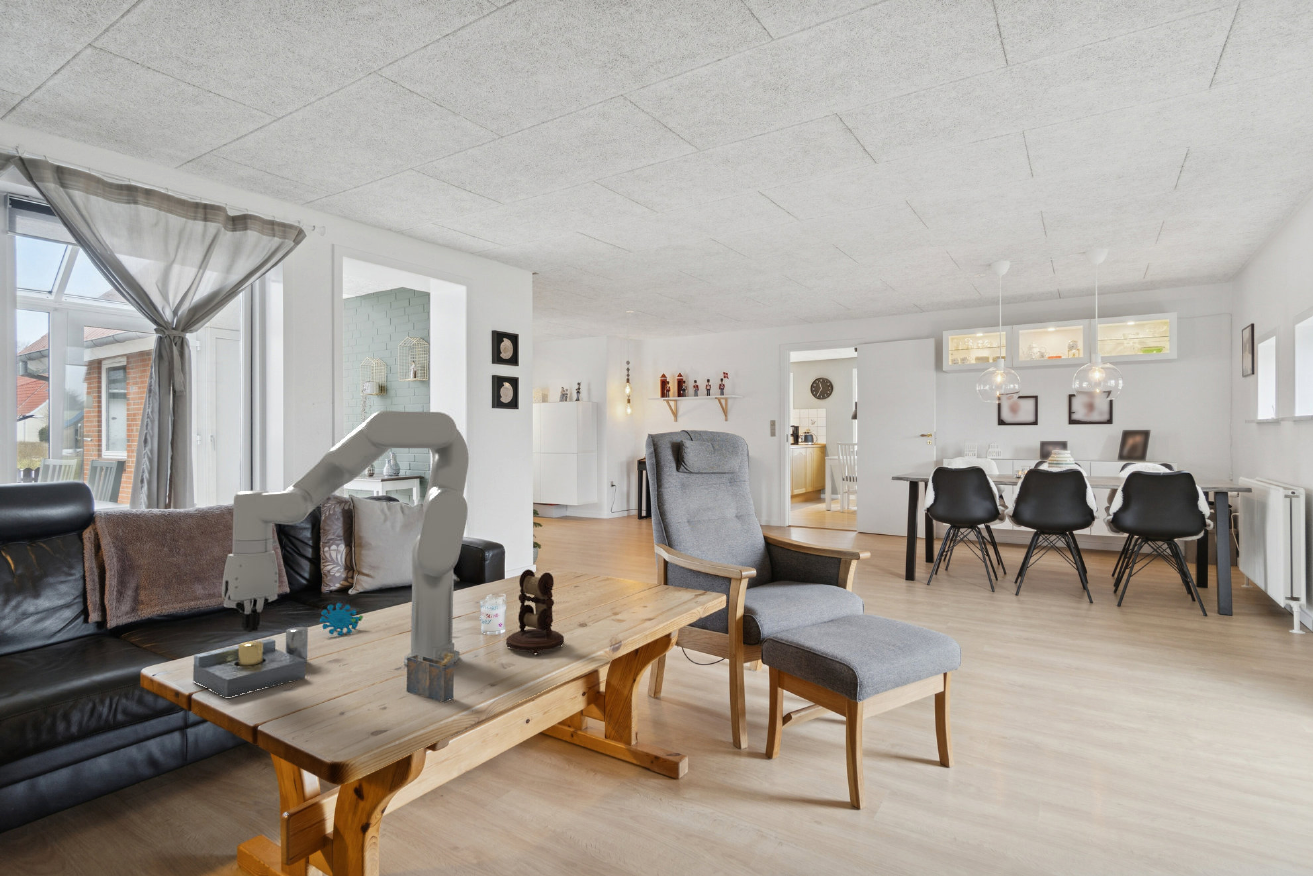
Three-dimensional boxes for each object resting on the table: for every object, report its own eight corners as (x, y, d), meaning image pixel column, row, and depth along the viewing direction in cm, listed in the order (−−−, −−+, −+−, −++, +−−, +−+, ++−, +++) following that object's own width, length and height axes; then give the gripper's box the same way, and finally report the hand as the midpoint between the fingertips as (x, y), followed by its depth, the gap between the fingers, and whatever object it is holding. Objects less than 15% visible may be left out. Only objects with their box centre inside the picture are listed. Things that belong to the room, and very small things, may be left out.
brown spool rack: (575, 646, 180) (576, 570, 180) (535, 660, 168) (537, 578, 168) (534, 636, 188) (535, 564, 188) (493, 649, 176) (495, 571, 176)
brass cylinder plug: (256, 675, 154) (256, 639, 154) (266, 679, 151) (266, 643, 151) (234, 681, 150) (234, 644, 150) (243, 685, 148) (244, 648, 148)
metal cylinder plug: (310, 663, 163) (311, 629, 163) (291, 667, 159) (292, 633, 160) (301, 659, 166) (301, 626, 166) (281, 664, 162) (282, 630, 162)
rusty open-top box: (454, 700, 143) (455, 653, 143) (443, 704, 140) (444, 657, 140) (418, 689, 148) (419, 644, 149) (406, 693, 146) (407, 647, 146)
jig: (304, 678, 153) (305, 651, 153) (227, 699, 140) (227, 669, 140) (269, 663, 162) (270, 638, 162) (193, 682, 149) (193, 655, 149)
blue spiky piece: (321, 633, 182) (320, 601, 189) (315, 645, 185) (315, 613, 192) (364, 633, 189) (362, 602, 195) (358, 644, 192) (356, 613, 198)
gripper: (278, 541, 159) (276, 620, 159) (207, 549, 147) (205, 634, 147) (295, 545, 155) (293, 626, 155) (223, 552, 143) (221, 641, 143)
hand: (250, 630), depth 151 cm, fingers closed
